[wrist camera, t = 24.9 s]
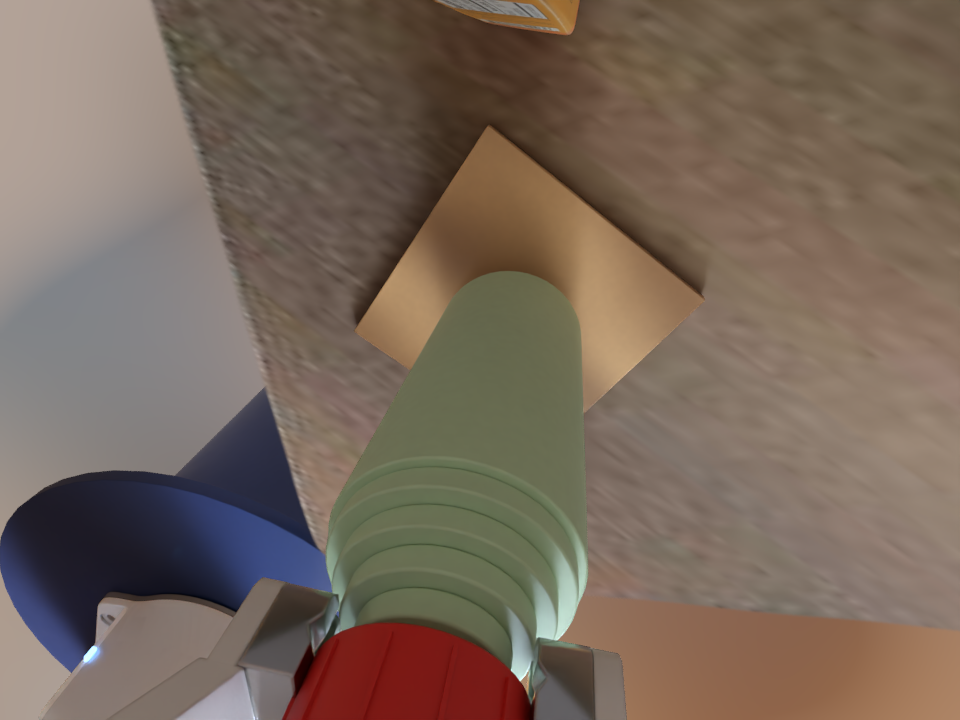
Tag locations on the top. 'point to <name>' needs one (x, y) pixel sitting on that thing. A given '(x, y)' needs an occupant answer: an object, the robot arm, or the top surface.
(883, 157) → the top surface
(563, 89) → the top surface
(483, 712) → the red cap
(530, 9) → the supplement box
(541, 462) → the sauce bottle
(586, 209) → the cork coaster
